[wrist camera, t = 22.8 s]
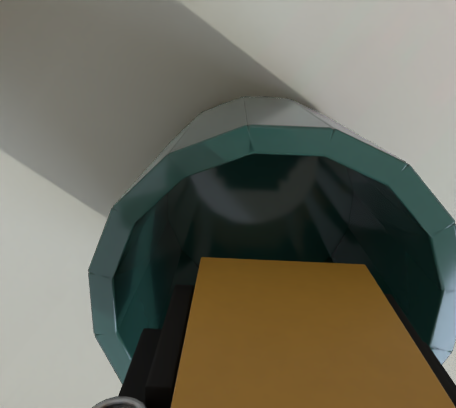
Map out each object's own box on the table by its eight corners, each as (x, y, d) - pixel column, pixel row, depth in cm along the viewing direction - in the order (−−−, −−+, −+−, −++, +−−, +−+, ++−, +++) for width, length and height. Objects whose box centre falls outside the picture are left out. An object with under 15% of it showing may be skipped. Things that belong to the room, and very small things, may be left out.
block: (200, 256, 11) (165, 427, 6) (365, 263, 11) (480, 443, 6) (198, 386, 13) (170, 615, 7) (343, 393, 13) (419, 630, 7)
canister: (153, 91, 20) (72, 117, 11) (379, 100, 20) (512, 134, 10) (158, 288, 24) (102, 442, 14) (348, 297, 24) (424, 458, 14)
